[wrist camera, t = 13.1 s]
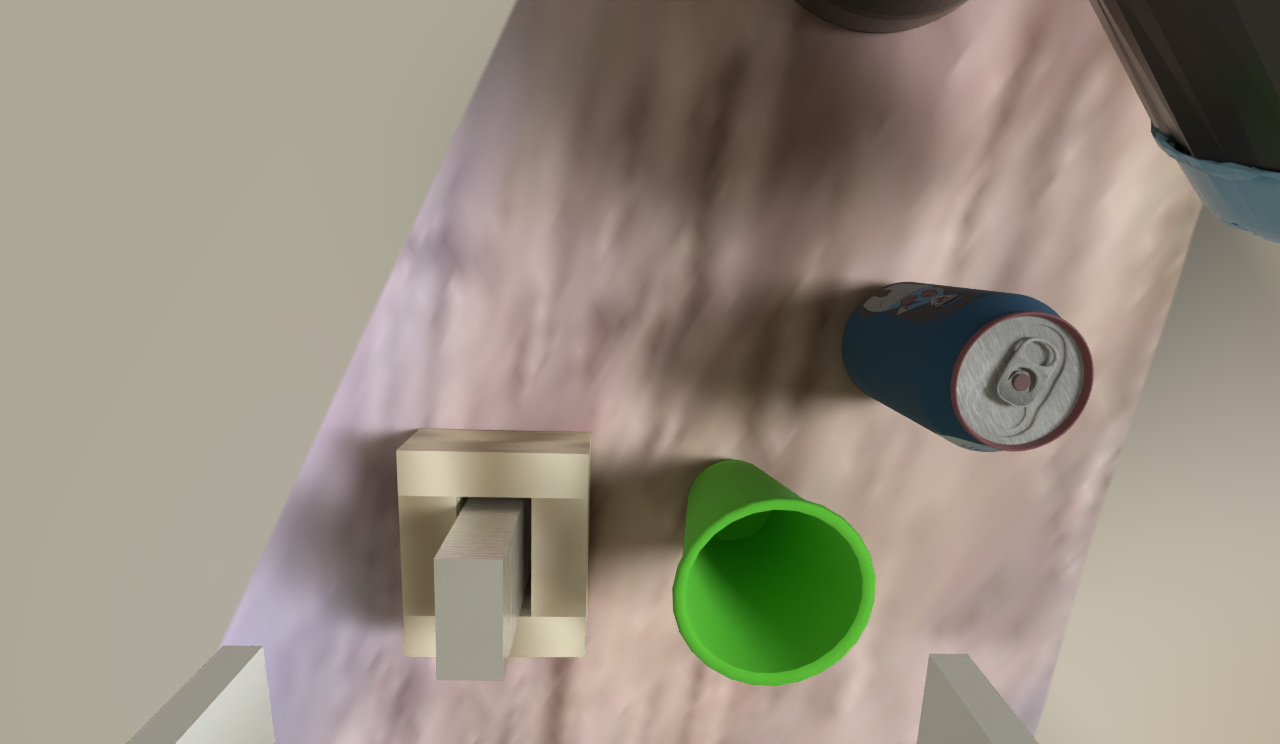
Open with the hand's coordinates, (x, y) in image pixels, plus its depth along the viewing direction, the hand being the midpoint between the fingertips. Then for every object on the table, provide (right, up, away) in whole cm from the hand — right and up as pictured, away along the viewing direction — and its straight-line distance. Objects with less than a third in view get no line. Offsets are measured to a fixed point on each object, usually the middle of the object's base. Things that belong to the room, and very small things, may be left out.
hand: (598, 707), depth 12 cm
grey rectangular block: (-7, -3, +25) cm, 27 cm away
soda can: (+16, +9, +24) cm, 30 cm away
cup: (+6, -1, +26) cm, 27 cm away
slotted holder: (-7, -3, +25) cm, 27 cm away
